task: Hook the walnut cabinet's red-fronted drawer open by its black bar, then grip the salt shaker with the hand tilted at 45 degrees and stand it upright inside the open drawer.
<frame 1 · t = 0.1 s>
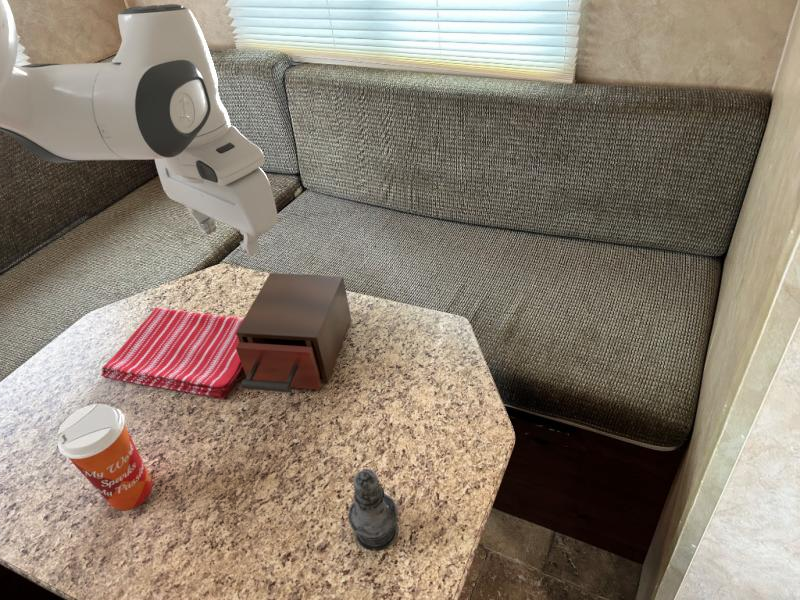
hand: (229, 241, 82), 24 cm above the table, tool pointing down, fingers open, 8 cm apart
dish towel: (191, 354, 101), on the table
cabinet: (303, 347, 100), on the table
drawer: (287, 348, 93), point 5 cm above the table, slide at 1.0 cm
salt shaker: (376, 530, 73), on the table
paper cup: (132, 492, 81), on the table
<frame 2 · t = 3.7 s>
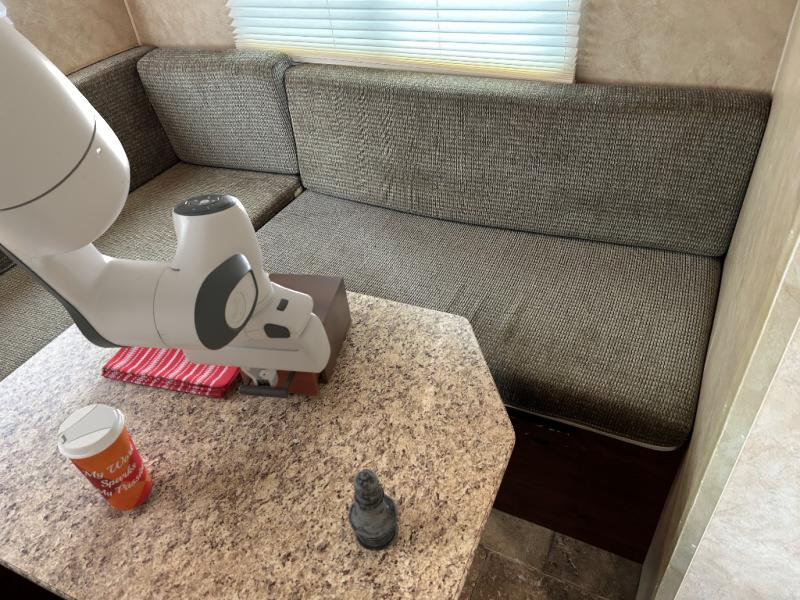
hand: (267, 383, 86), 6 cm above the table, tool pointing down, fingers closed
drawer: (285, 353, 92), point 5 cm above the table, slide at 2.1 cm, touching gripper
everything else where it was.
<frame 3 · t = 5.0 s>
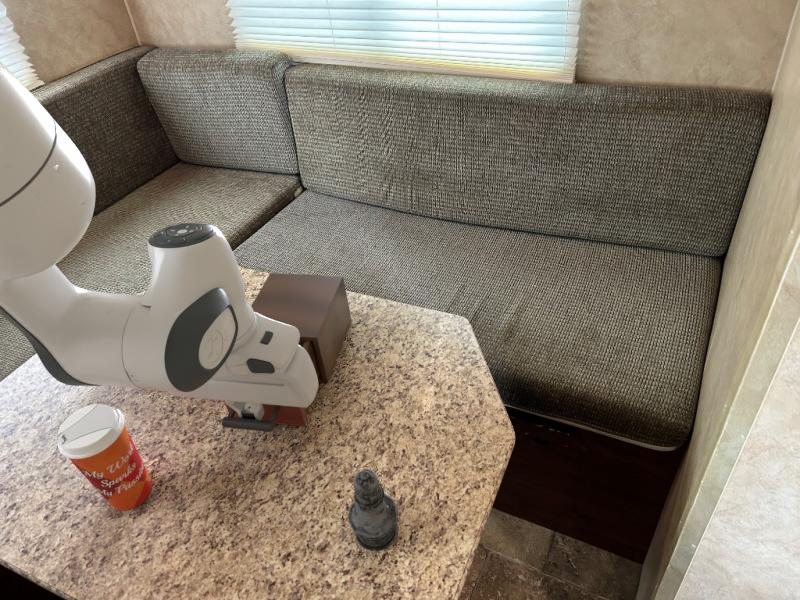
hand: (252, 416, 82), 6 cm above the table, tool pointing down, fingers closed
drawer: (271, 382, 88), point 5 cm above the table, slide at 7.9 cm
everything else where it was.
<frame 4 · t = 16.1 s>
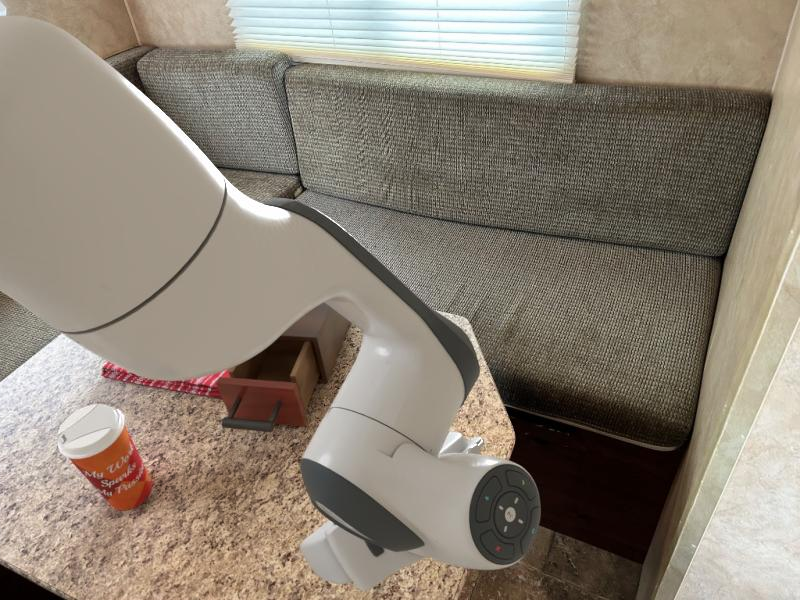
hand: (366, 495, 70), 7 cm above the table, tool tilted 45°, fingers closed on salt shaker, 3 cm apart
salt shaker: (376, 530, 73), on the table, touching gripper
everything else where it was.
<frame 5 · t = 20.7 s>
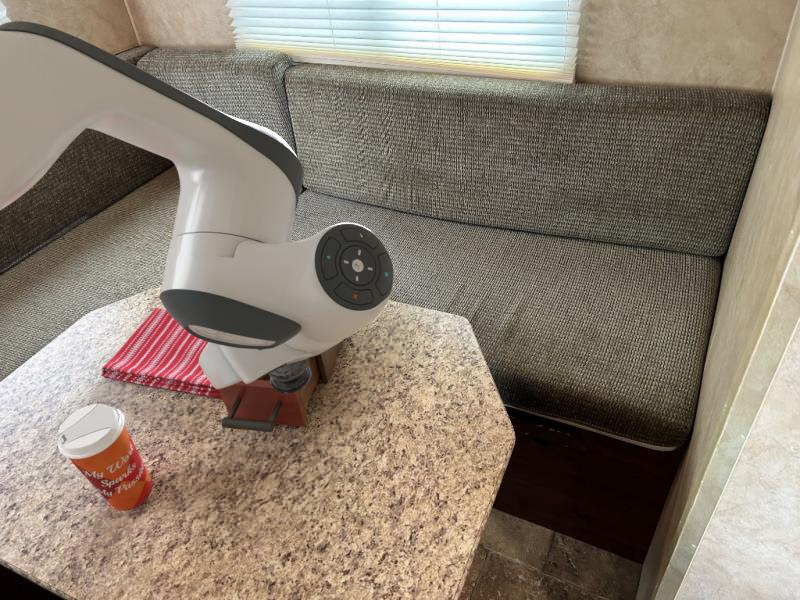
hand: (276, 337, 73), 19 cm above the table, tool tilted 45°, fingers closed on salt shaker, 3 cm apart
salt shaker: (291, 378, 77), point 13 cm above the table, touching gripper
everything else where it was.
when the fingers open (9 cm above the table, at t = 25.2 s): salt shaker stays where it is, resting on drawer.
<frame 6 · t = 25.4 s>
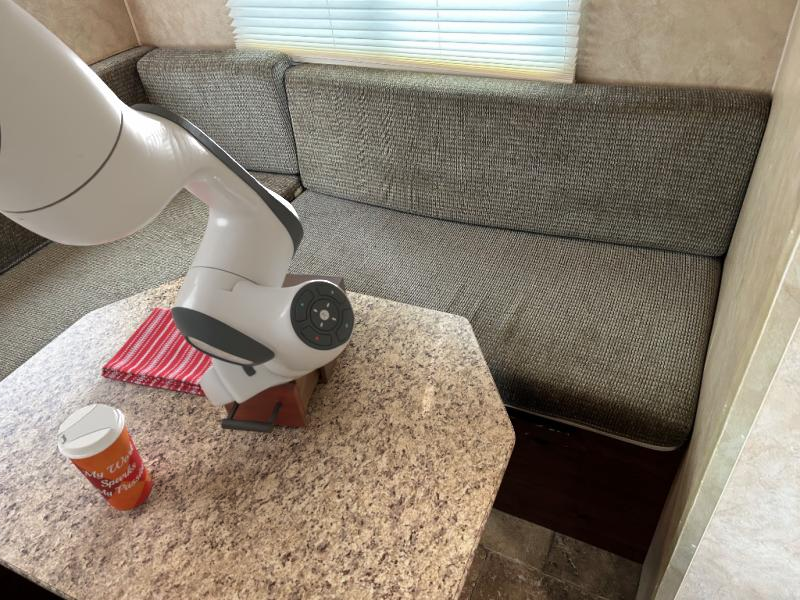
hand: (265, 360, 86), 8 cm above the table, tool tilted 45°, fingers open, 5 cm apart
drawer: (271, 383, 87), point 5 cm above the table, slide at 8.2 cm, touching gripper, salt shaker
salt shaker: (277, 395, 90), point 2 cm above the table, touching drawer
everything else where it was.
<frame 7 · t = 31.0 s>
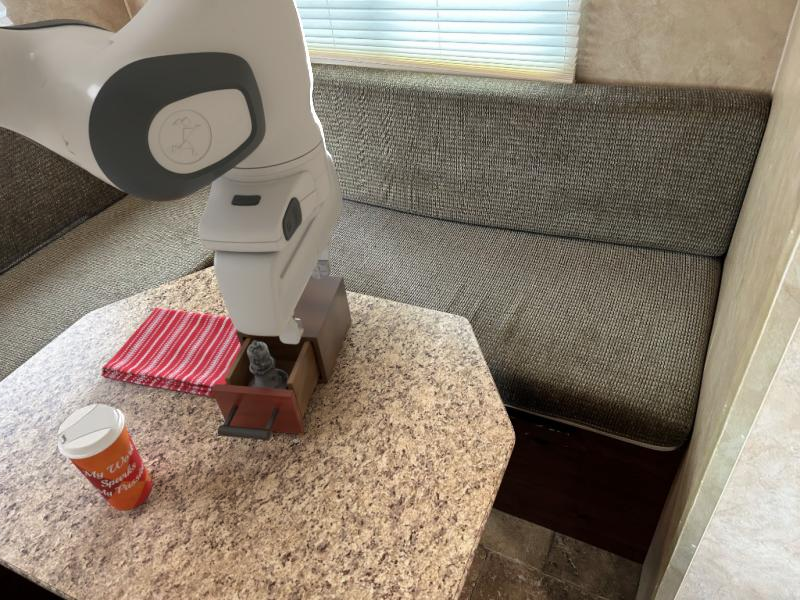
hand: (308, 304, 58), 31 cm above the table, tool pointing down, fingers open, 8 cm apart
drawer: (268, 389, 87), point 5 cm above the table, slide at 9.3 cm, touching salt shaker
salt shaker: (274, 401, 89), point 2 cm above the table, touching drawer
everything else where it was.
at the end: drawer slide at 9.3 cm; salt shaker inside the target area in the drawer (1.6 cm from its centre), point 1.8 cm above the cabinet's base; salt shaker tilted 0° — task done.
